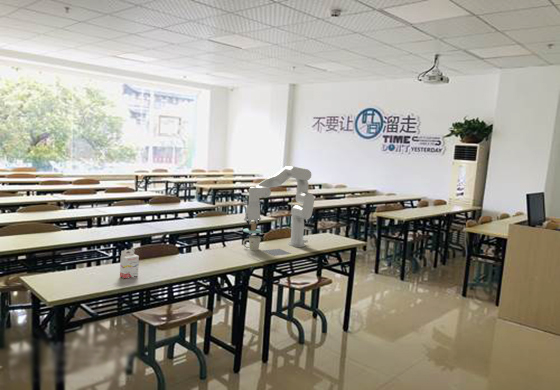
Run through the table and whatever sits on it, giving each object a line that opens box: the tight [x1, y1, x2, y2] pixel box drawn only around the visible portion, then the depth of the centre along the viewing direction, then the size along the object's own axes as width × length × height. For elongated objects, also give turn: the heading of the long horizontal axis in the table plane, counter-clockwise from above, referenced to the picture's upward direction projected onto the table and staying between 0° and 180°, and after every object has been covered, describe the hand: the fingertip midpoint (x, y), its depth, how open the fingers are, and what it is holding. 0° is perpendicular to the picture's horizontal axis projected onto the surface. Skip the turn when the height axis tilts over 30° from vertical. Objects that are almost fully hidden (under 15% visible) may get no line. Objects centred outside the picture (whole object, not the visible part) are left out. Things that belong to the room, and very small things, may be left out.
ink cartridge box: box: [119, 248, 140, 279], centre depth 245 cm, size 9×5×15 cm, turn 141°
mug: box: [242, 235, 261, 251], centre depth 322 cm, size 8×13×10 cm, turn 89°
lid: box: [242, 222, 262, 234], centre depth 320 cm, size 13×13×6 cm
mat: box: [262, 248, 292, 257], centre depth 318 cm, size 15×15×1 cm
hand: (252, 229), depth 320 cm, fingers closed on lid, 4 cm apart
